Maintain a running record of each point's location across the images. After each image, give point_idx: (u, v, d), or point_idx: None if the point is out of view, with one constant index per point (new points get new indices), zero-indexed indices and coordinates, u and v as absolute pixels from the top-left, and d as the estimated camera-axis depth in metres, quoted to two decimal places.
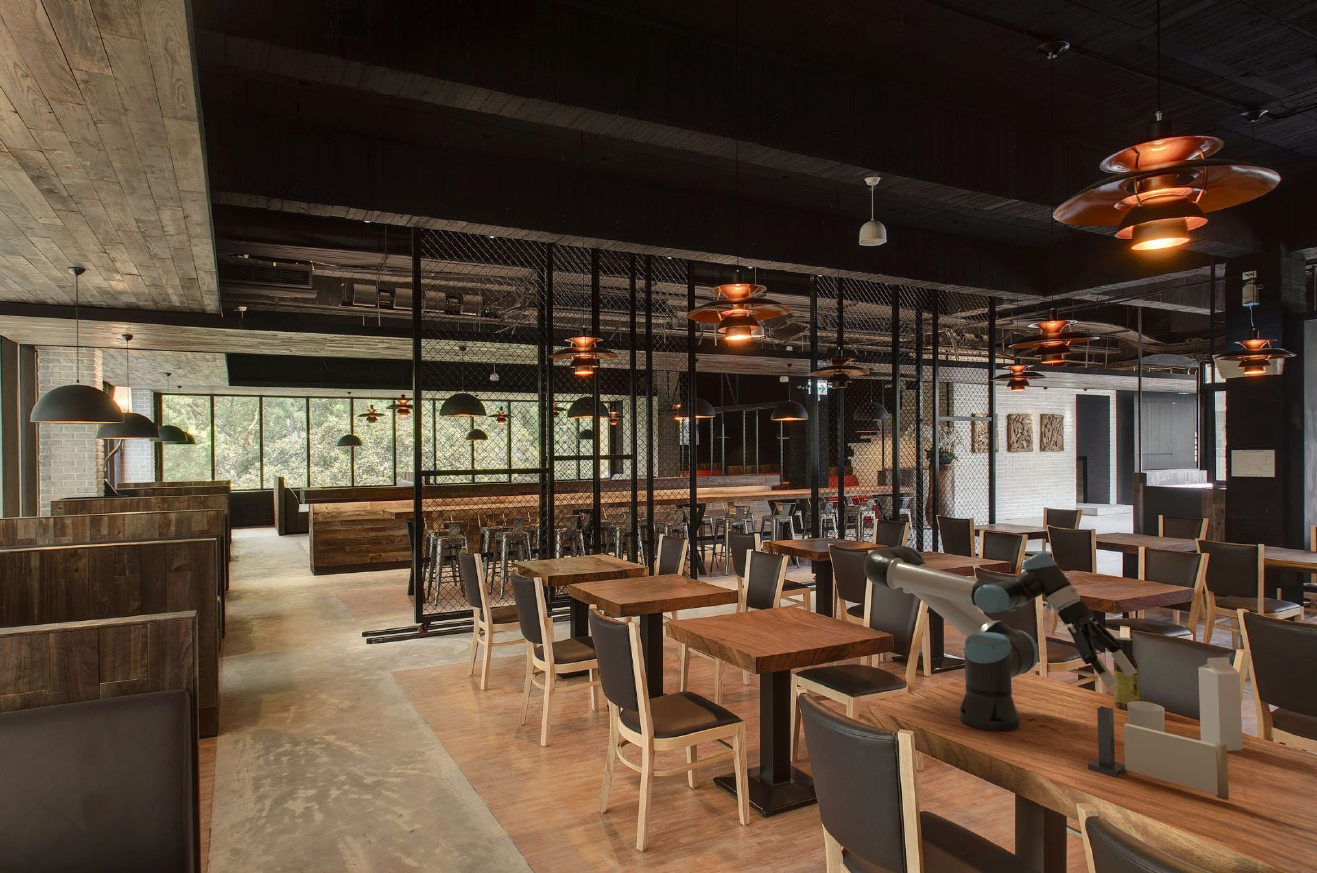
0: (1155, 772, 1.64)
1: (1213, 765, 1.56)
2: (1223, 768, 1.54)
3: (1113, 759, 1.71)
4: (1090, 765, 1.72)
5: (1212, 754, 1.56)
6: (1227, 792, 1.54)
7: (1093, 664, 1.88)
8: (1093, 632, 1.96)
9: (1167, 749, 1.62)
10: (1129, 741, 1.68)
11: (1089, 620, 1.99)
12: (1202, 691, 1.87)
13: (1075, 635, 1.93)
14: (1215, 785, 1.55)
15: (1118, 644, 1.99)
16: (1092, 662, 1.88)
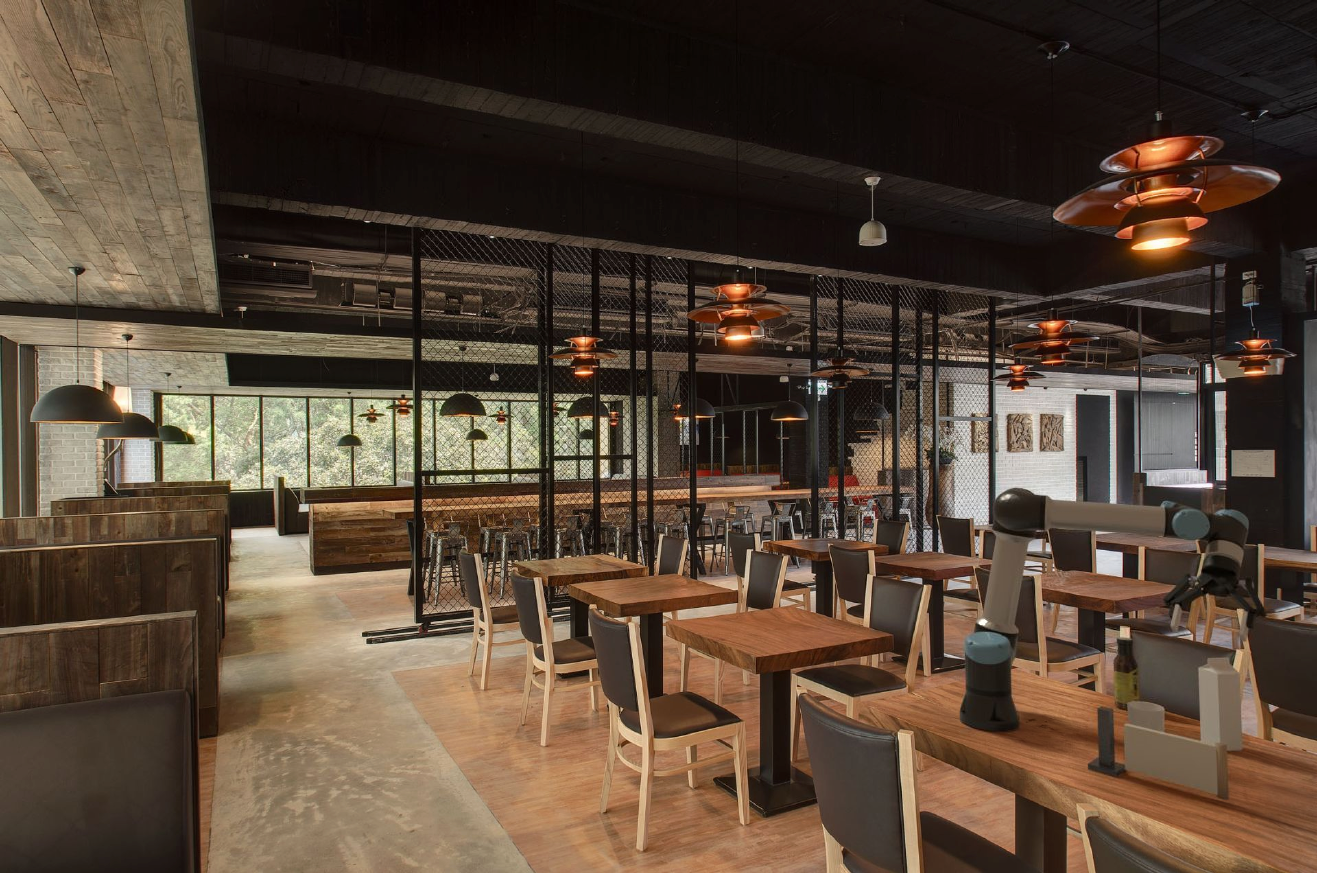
0: (1155, 772, 1.64)
1: (1213, 765, 1.56)
2: (1223, 768, 1.54)
3: (1113, 759, 1.71)
4: (1090, 765, 1.72)
5: (1212, 754, 1.56)
6: (1227, 792, 1.54)
7: (1254, 616, 1.71)
8: None
9: (1167, 749, 1.62)
10: (1129, 741, 1.68)
11: None
12: (1202, 691, 1.87)
13: (1253, 589, 1.76)
14: (1215, 785, 1.55)
15: None
16: (1255, 615, 1.71)
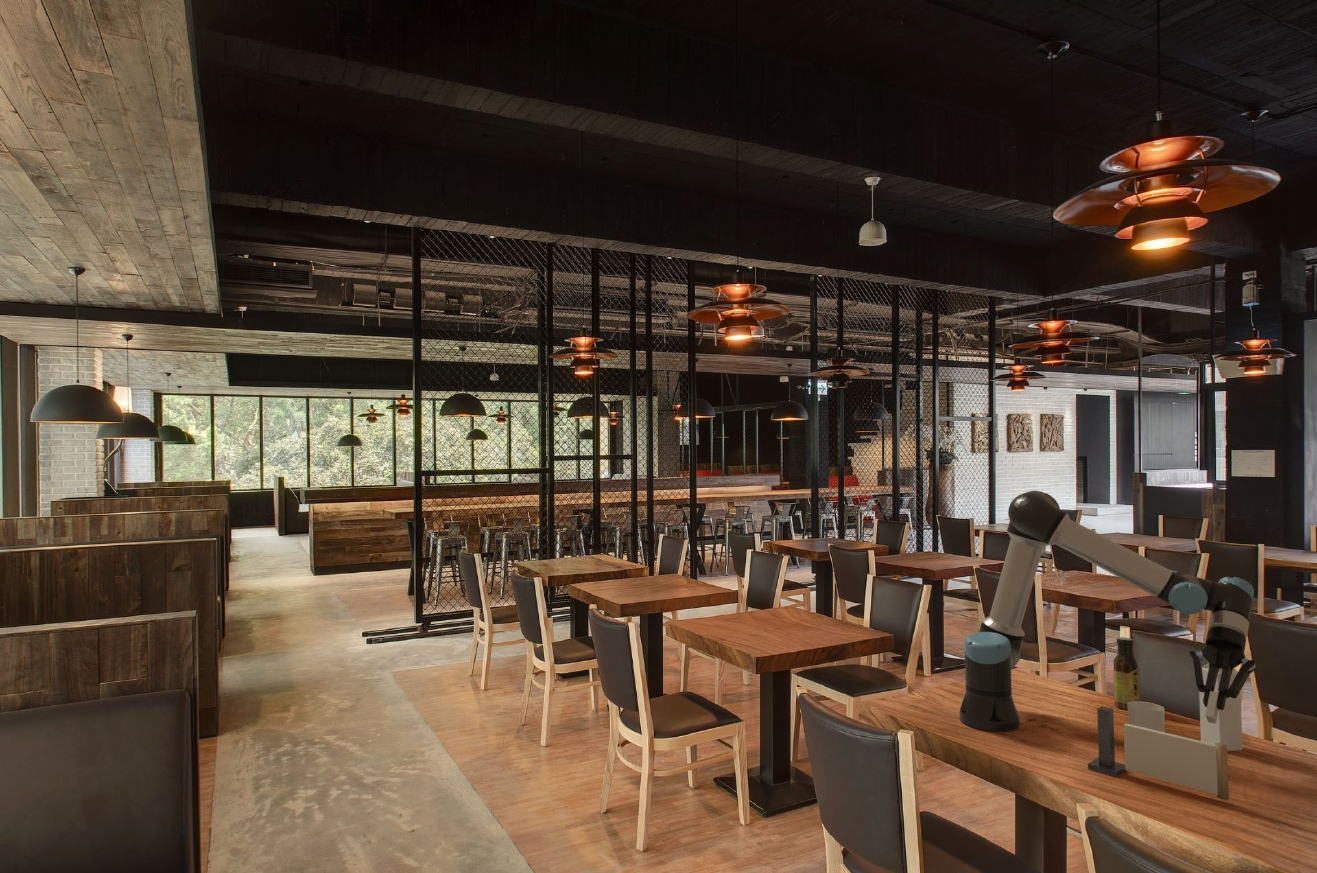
0: (1155, 772, 1.64)
1: (1213, 765, 1.56)
2: (1223, 768, 1.54)
3: (1113, 759, 1.71)
4: (1090, 765, 1.72)
5: (1212, 754, 1.56)
6: (1227, 792, 1.54)
7: (1224, 698, 1.71)
8: None
9: (1167, 749, 1.62)
10: (1129, 741, 1.68)
11: None
12: None
13: (1247, 672, 1.72)
14: (1215, 785, 1.55)
15: None
16: (1225, 696, 1.71)
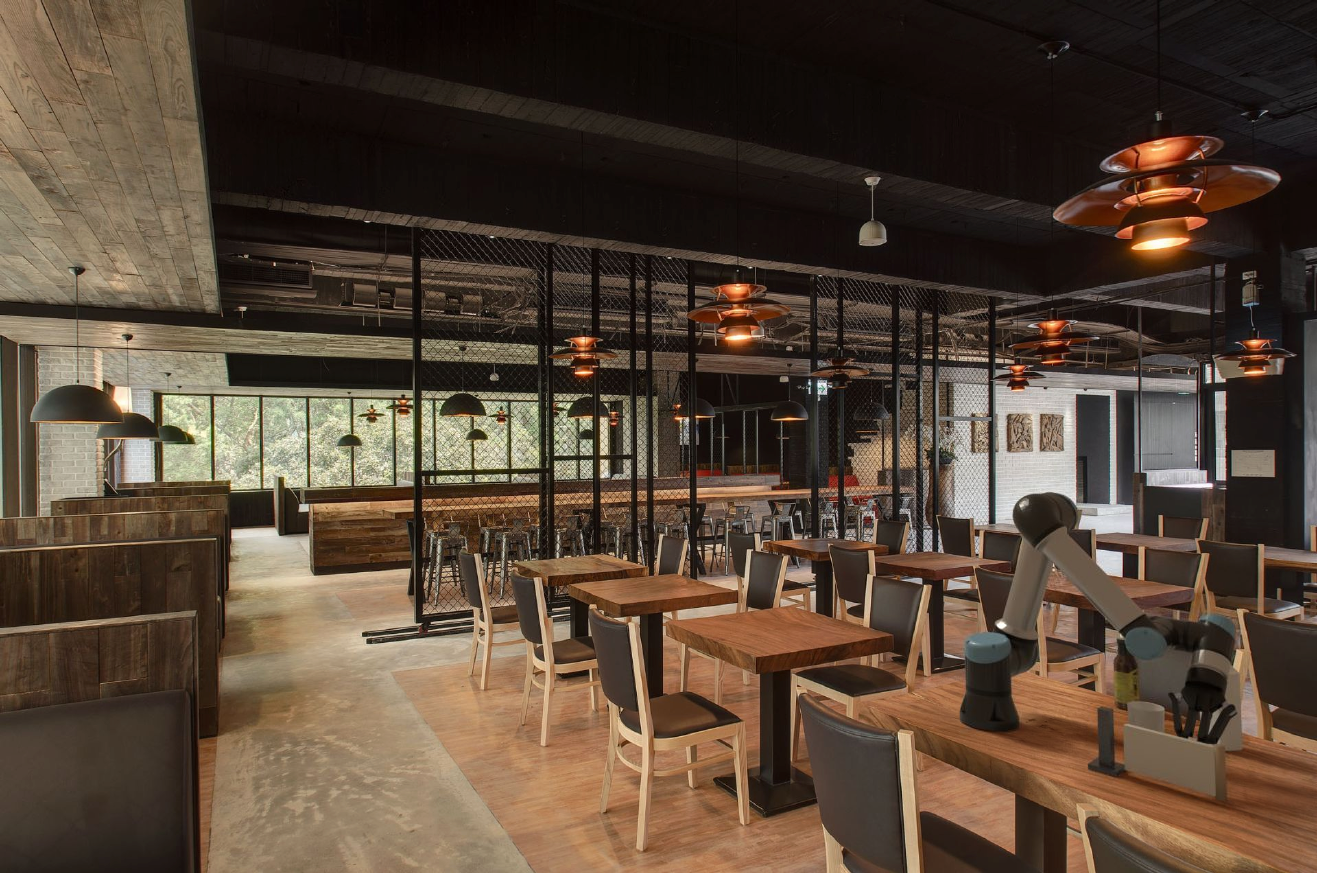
0: (1154, 772, 1.64)
1: (1211, 766, 1.55)
2: (1221, 769, 1.54)
3: (1113, 759, 1.71)
4: (1090, 765, 1.72)
5: (1210, 755, 1.55)
6: (1225, 794, 1.53)
7: None
8: None
9: (1166, 750, 1.62)
10: (1129, 741, 1.68)
11: None
12: None
13: (1228, 717, 1.63)
14: (1213, 786, 1.55)
15: None
16: None
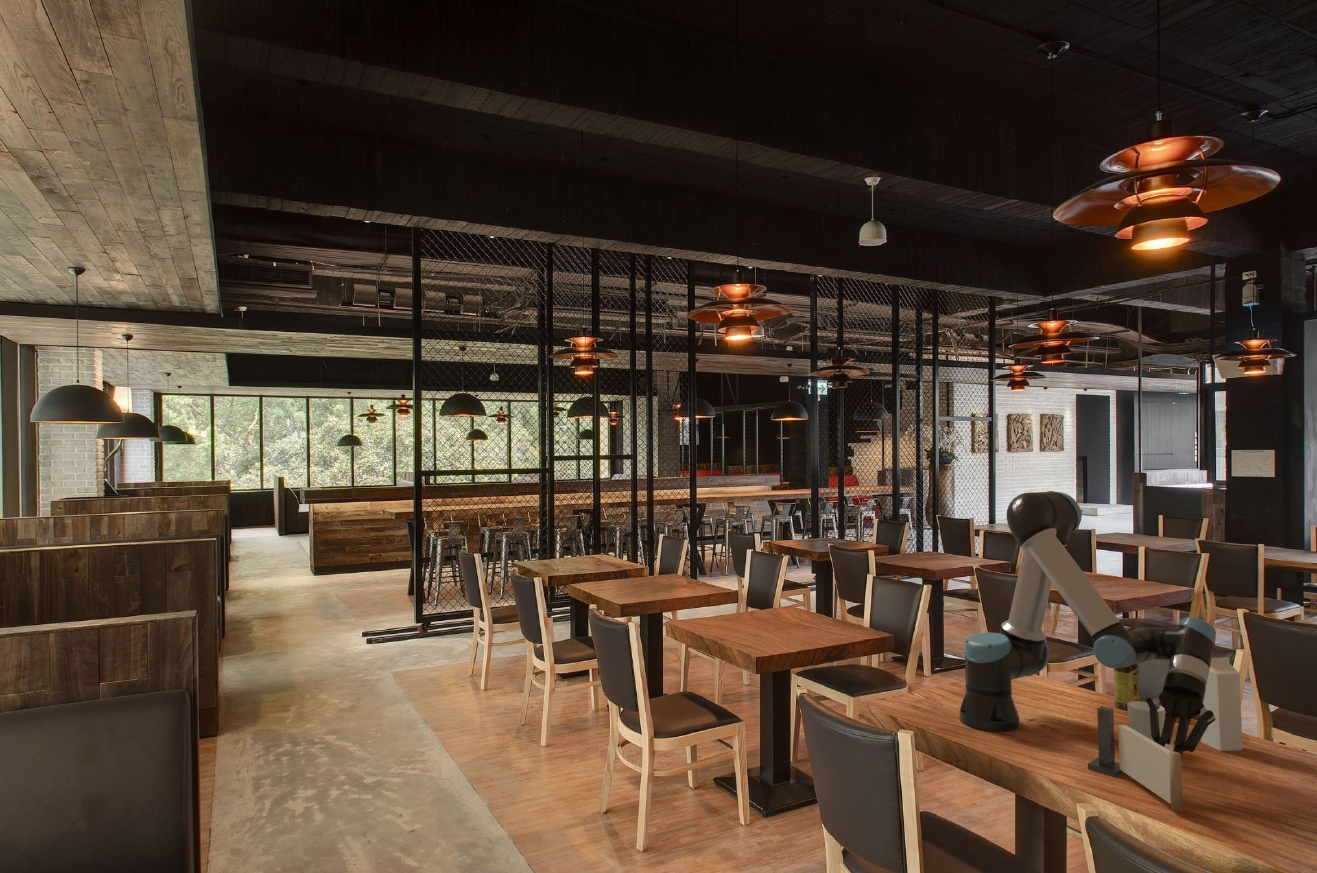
0: (1136, 775, 1.63)
1: (1167, 773, 1.52)
2: (1173, 777, 1.50)
3: (1113, 759, 1.71)
4: (1090, 765, 1.72)
5: (1167, 761, 1.52)
6: (1178, 802, 1.50)
7: (1180, 752, 1.59)
8: None
9: (1142, 752, 1.60)
10: (1121, 741, 1.68)
11: None
12: None
13: (1205, 723, 1.60)
14: (1169, 793, 1.52)
15: None
16: (1182, 750, 1.59)
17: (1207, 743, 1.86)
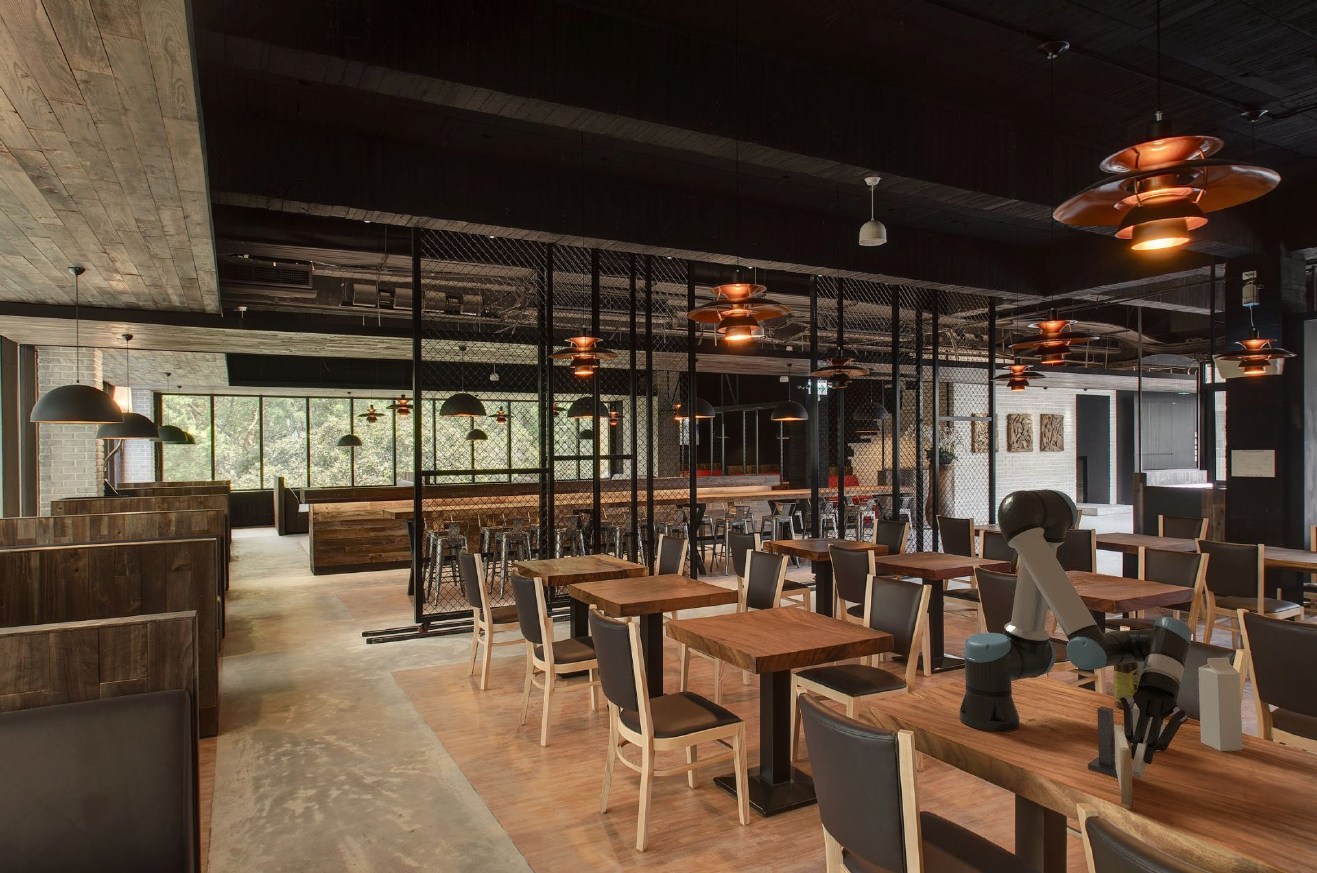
0: (1117, 772, 1.64)
1: None
2: (1121, 772, 1.53)
3: (1113, 759, 1.71)
4: (1090, 765, 1.72)
5: None
6: (1125, 797, 1.52)
7: (1152, 751, 1.59)
8: None
9: None
10: (1115, 740, 1.68)
11: None
12: (1202, 691, 1.87)
13: (1178, 723, 1.60)
14: None
15: None
16: (1153, 749, 1.59)
17: (1207, 743, 1.86)
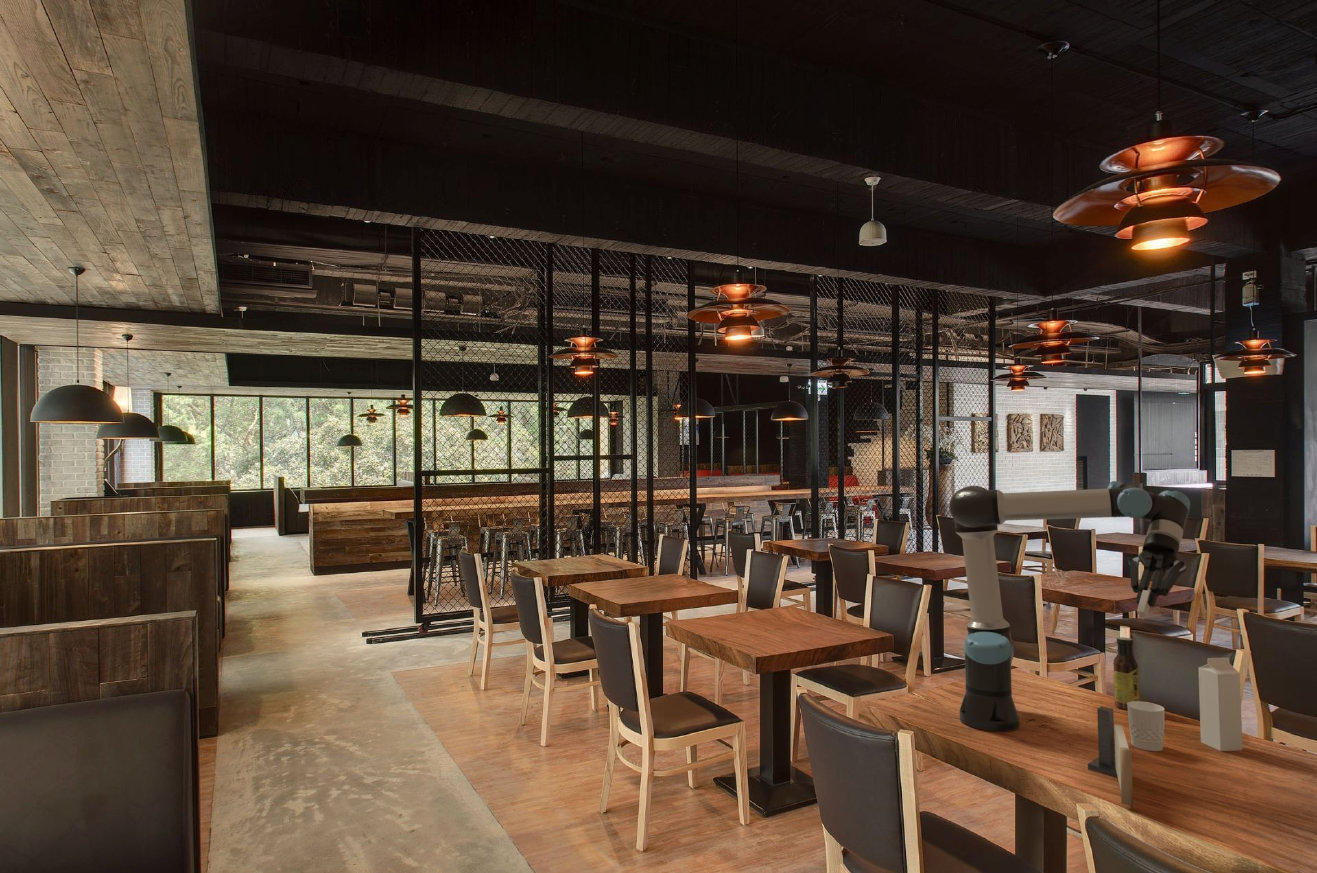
0: (1117, 772, 1.64)
1: None
2: (1121, 772, 1.53)
3: (1113, 759, 1.71)
4: (1090, 765, 1.72)
5: None
6: (1125, 797, 1.52)
7: (1155, 595, 1.82)
8: None
9: None
10: (1115, 740, 1.68)
11: None
12: (1202, 691, 1.87)
13: (1178, 572, 1.84)
14: None
15: None
16: (1156, 594, 1.83)
17: (1207, 743, 1.86)
